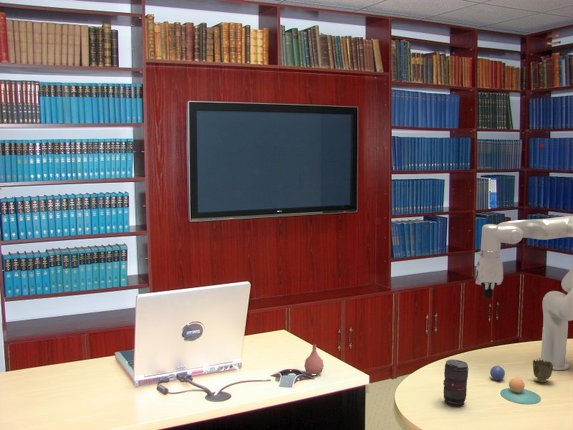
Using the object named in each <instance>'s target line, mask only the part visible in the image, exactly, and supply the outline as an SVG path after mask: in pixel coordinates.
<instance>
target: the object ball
mask: <svg viewBox="0 0 573 430" xmlns="http://www.w3.org/2000/svg"><path fill="white" fill-rule="evenodd" d="M525 386H526V385H525V382H524V380H522V379H521V378H520V377H512V378H511V379H510V380H509V383H508V388H510V389H511V390H512V391H513V392H515V393H520V392H522V391H523V390H524V389H525Z"/></svg>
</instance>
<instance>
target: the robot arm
mask: <svg viewBox="0 0 573 430" xmlns="http://www.w3.org/2000/svg"><path fill="white" fill-rule="evenodd" d="M523 238H525V239H526V238H527V239H534V240H535V239H536V240H542V241H543V240H552V239H560V238H561V239H562V238H573V215H566V216H559V217H557V216H556V217H550V218H537V219H534V218H533V219H520V220H509V221H503V222H500V223H498V224H494V223H488V224H484V225H482V226H481V240H480V241H481V243H480V251H478V252H477V255H478V256H479V257H478V259H477V263H476V268H475V269H476V270H475V284H476V285H480V286H481V287H482V288H483V298H485V299H486V300H491V299H492V297H493V290H494V289H495V287H496V286H499V285H501V284H502V282H503V280H504V266H503V258H501V245H502V244H501V243H504V244H509V245H510V244H514V245H515V244H518V243H519V242H521V241H522V239H523ZM561 288H562V290H564V291H565V292H566V293H567V294H565V293H564V292H561V291H557V290H551V291H548V292H547V293H546V294H545V295H544V296H543V299H542V305H541V306H542V312H543V313H542V314H543V315H542V316H543V323H542V326H543V327H542V335H541V336H542V337H541V349H540V350H541V351H540V357H539V358H537V359H536V360H538V361H539V360H541V361H542V360H543V361H544V362H545V361H546V360H547V362H549V361H550V362H551V363H552V365H553V369H552V371H553V370H554V371H565V370H568V369H569V368H570V363H568V362H567V361H566V359H567V357H566V354H567V343H568V331H569V329H568V328H569V321H570V322H571V321H573V266H572V267H571V268H570V269H569V271H568V272H567V273H566V274H565V276H563V278H562V280H561Z"/></svg>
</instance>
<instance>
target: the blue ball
mask: <svg viewBox="0 0 573 430" xmlns="http://www.w3.org/2000/svg"><path fill="white" fill-rule="evenodd" d="M489 374H490V376H491V378H492V379H493V380H495V381H501V380H503V379H504V378H505V375H506V372H505V370H504V367H502V366H500V365H495V366H492V367H491V368H490V371H489Z"/></svg>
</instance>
